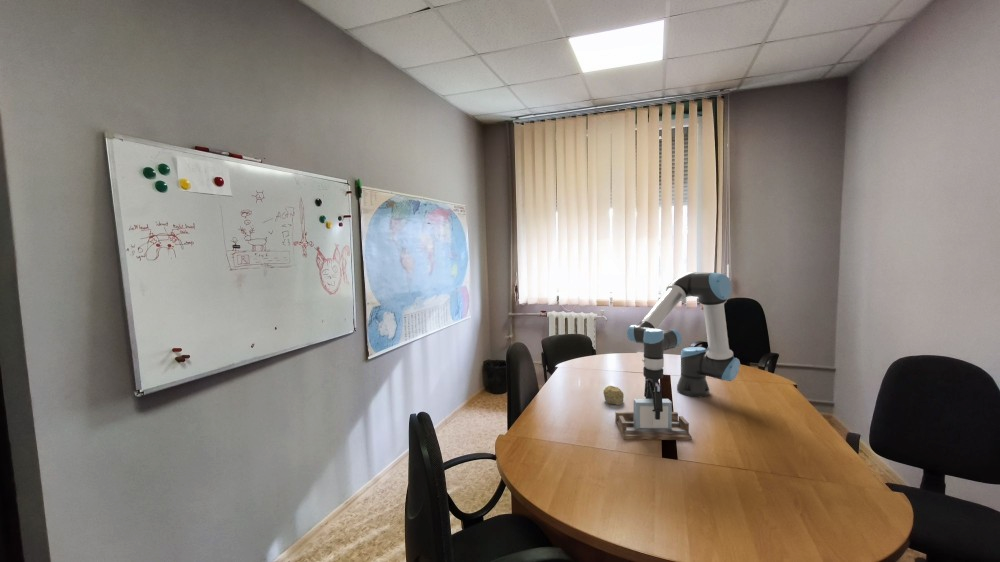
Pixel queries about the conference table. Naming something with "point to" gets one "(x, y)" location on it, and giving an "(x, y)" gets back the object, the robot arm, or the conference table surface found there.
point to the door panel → (651, 414)
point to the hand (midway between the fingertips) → (652, 420)
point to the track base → (629, 432)
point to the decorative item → (613, 395)
